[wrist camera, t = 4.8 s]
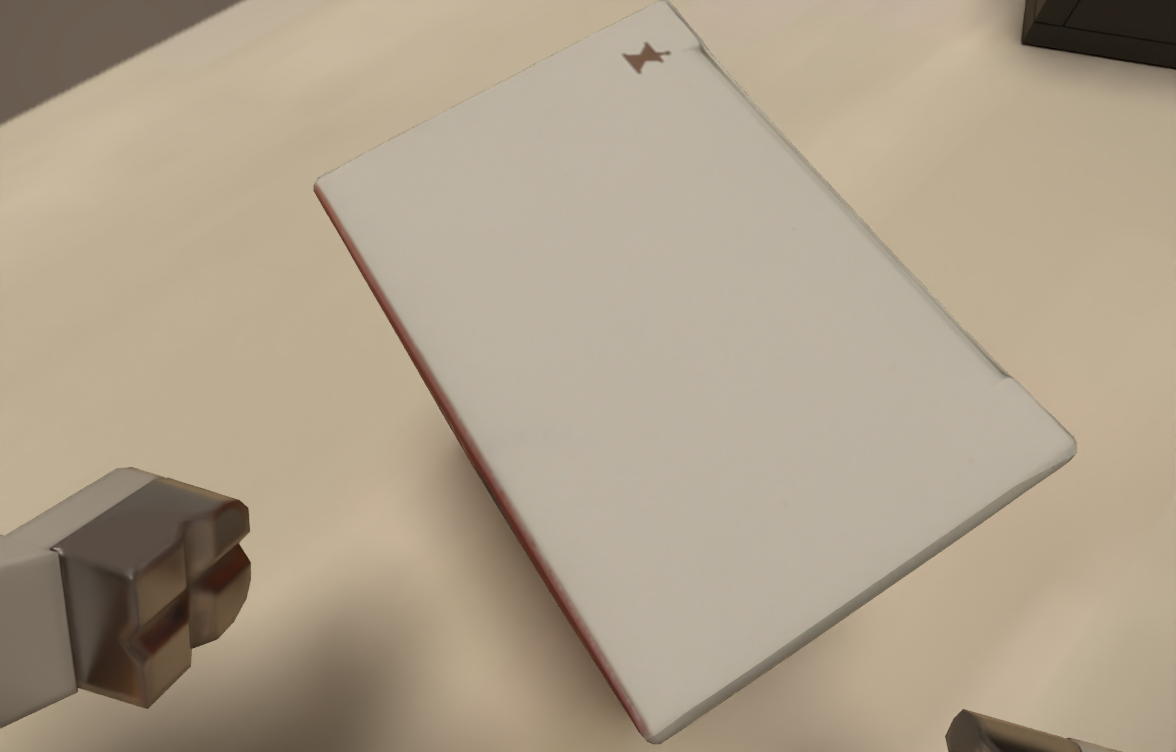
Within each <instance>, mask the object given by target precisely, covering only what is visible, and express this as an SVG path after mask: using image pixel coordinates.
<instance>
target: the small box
mask: <svg viewBox="0 0 1176 752" xmlns="http://www.w3.org/2000/svg"><path fill="white" fill-rule="evenodd" d="M314 192H315V194H316V196H317V198H318V199H319V201H320V203H321V204H322V206H323V208H324V210H325V211H326V213H327V215H328V216H329V218H330V220H331V221H332V223H333V225H334V227H335V228H336V230H337V232H338V233H339V235H340V237H341V238H342V240H343V242H344V244H345V245H346V247H347V249H348V251H349V252H350V254H351V256H352V258H353V260H354V261H355V263H356V265H357V267H358V268H359V270H360V272H361V274H362V275H363V277H364V279H365V280H366V282H367V284H368V286H369V287H370V289H371V291H372V293H373V294H374V296H375V298H376V299H377V301H378V303H379V305H380V306H381V308H382V310H383V311H384V313H385V315H386V317H387V318H388V320H389V322H390V324H391V325H392V327H393V329H394V330H395V332H396V334H397V336H398V337H399V339H400V341H401V343H402V344H403V346H404V348H405V349H406V351H407V353H408V355H409V356H410V358H411V360H412V362H413V363H414V365H415V367H416V369H417V370H418V372H419V374H420V376H421V377H422V379H423V381H424V382H425V384H426V386H427V388H428V389H429V391H430V393H431V395H432V396H433V398H434V400H435V402H436V403H437V405H438V407H439V409H440V410H441V412H442V414H443V416H444V417H445V419H446V421H447V422H448V424H449V426H450V428H451V429H452V431H453V433H454V434H455V436H456V438H457V440H458V441H459V443H460V445H461V446H462V448H463V450H464V452H465V453H466V455H467V457H468V458H469V460H470V462H471V464H472V465H473V467H474V469H475V470H476V472H477V474H478V475H479V477H480V478H481V480H482V482H483V483H484V485H485V487H486V488H487V490H488V492H489V493H490V495H491V497H492V498H493V500H494V501H495V503H496V505H497V506H498V508H499V510H500V511H501V513H502V515H503V516H504V518H505V519H506V521H507V523H508V524H509V526H510V528H511V529H512V531H513V532H514V534H515V536H516V537H517V539H518V541H519V542H520V544H521V545H522V547H523V549H524V550H525V552H526V553H527V555H528V557H529V558H530V560H531V562H532V563H533V565H534V566H535V568H536V570H537V571H538V573H539V574H540V576H541V578H542V579H543V581H544V583H545V584H546V586H547V587H548V589H549V591H550V592H551V594H552V595H553V597H554V599H555V600H556V602H557V604H558V605H559V607H560V608H561V610H562V612H563V613H564V615H565V616H566V618H567V620H568V621H569V623H570V624H571V626H572V628H573V629H574V631H575V632H576V634H577V635H578V637H579V638H580V640H581V642H582V643H583V645H584V646H585V648H586V649H587V651H588V653H589V654H590V656H591V657H592V659H593V660H594V662H595V663H596V665H597V667H598V668H599V670H600V671H601V673H602V674H603V676H604V678H605V679H606V681H607V682H608V684H609V685H610V687H611V688H612V690H613V692H614V693H615V695H616V696H617V698H618V699H619V701H620V702H621V704H622V706H623V707H624V709H625V710H626V712H627V713H628V715H629V717H630V718H631V720H632V721H633V723H634V725H635V726H636V728H637V730H638V731H639V733H640V734H641V735H642V736H643V737H644V739H645V740H646V741H647V742H650V743H652V744H661V743H662V742H664V741H665V740H667V739H668V738H670V737H671V736H673V735H675V734H676V733H678V732H679V731H681V730H682V729H684V728H685V727H687V726H688V725H689V724H691V723H692V722H694V721H695V720H697V719H698V718H700V717H701V716H703V715H704V714H706V713H707V712H709V711H710V710H711V709H713V708H714V707H716V706H717V705H719V704H720V703H722V702H723V701H725V700H726V699H728V698H729V697H731V696H732V695H733V694H735V693H736V692H738V691H739V690H741V689H742V688H744V687H745V686H747V685H748V684H750V683H751V682H753V681H754V680H755V679H757V678H758V677H760V676H761V675H763V674H764V673H766V672H767V671H769V670H770V669H772V668H773V667H775V666H776V665H777V664H779V663H780V662H782V661H783V660H785V659H786V658H788V657H789V656H791V655H792V654H793V653H795V652H796V651H798V650H799V649H801V648H802V647H804V646H805V645H807V644H808V643H809V642H811V641H812V640H814V639H815V638H817V637H818V636H820V635H821V634H822V633H824V632H825V631H827V630H828V629H830V628H831V627H833V626H834V625H835V624H837V623H838V622H840V621H841V620H843V619H844V618H846V617H847V616H849V615H850V614H851V613H853V612H854V611H856V610H857V609H859V608H860V607H862V606H863V605H864V604H866V603H867V602H869V601H870V600H872V599H873V598H875V597H876V596H878V595H879V594H880V593H882V592H883V591H885V590H886V589H888V588H889V587H890V586H892V585H893V584H895V583H896V582H898V581H899V580H901V579H902V578H903V577H905V576H906V575H908V574H909V573H911V572H912V571H914V570H915V569H916V568H918V567H919V566H921V565H922V564H924V563H925V562H927V561H928V560H929V559H931V558H932V557H934V556H935V555H937V554H938V553H940V552H941V551H942V550H944V549H945V548H947V547H948V546H950V545H951V544H953V543H954V542H955V541H957V540H958V539H960V538H961V537H963V536H964V535H965V534H967V533H968V532H970V531H971V530H973V529H974V528H976V527H977V526H978V525H980V524H981V523H983V522H984V521H985V520H987V519H988V518H990V517H991V516H992V515H994V514H995V513H997V512H998V511H999V510H1001V509H1002V508H1004V507H1005V506H1006V505H1008V504H1009V503H1011V502H1012V501H1013V500H1015V499H1016V498H1018V497H1019V496H1020V495H1022V494H1023V493H1025V492H1026V491H1028V490H1029V489H1030V488H1032V487H1033V486H1035V485H1036V484H1038V483H1039V482H1041V481H1042V480H1044V479H1045V478H1047V477H1048V476H1050V475H1051V474H1052V473H1054V472H1055V471H1057V470H1058V469H1060V468H1061V467H1062V466H1064V465H1065V464H1066V463H1068V462H1069V461H1070V460H1071V459H1072V458H1073V457H1074V455H1075V454H1076V453H1077V442H1076V440H1075V439H1074V437H1073V436H1072V435H1071V434H1070V433H1069V432H1068V431H1067V430H1066V429H1065V428H1064V427H1063V426H1062V425H1061V424H1060V423H1059V422H1058V421H1057V420H1056V419H1055V418H1054V417H1053V416H1052V415H1051V414H1050V413H1049V412H1048V411H1047V410H1045V409H1044V408H1043V407H1042V406H1041V405H1040V404H1039V403H1038V402H1037V401H1036V400H1035V399H1034V398H1033V396H1032V395H1031V394H1030V393H1029V392H1028V391H1027V390H1026V389H1025V388H1024V387H1023V386H1022V385H1021V384H1020V383H1018V382H1017V381H1016V380H1015V379H1014V378H1013V377H1012V376H1011V375H1010V374H1009V373H1008V372H1007V371H1006V370H1005V369H1004V368H1003V367H1002V366H1000V365H999V364H998V363H997V362H996V361H995V360H994V359H993V357H992V356H991V355H990V354H989V353H988V352H987V351H986V350H985V349H984V348H983V347H982V346H981V345H980V344H979V343H978V342H977V341H976V340H975V339H974V338H973V337H972V336H971V335H970V334H969V333H968V332H967V331H966V330H965V329H964V328H963V327H962V325H961V324H960V323H959V322H958V321H957V320H956V319H955V318H954V317H953V316H952V315H951V314H950V313H949V312H948V311H947V310H946V309H945V307H944V306H943V305H942V304H941V303H940V302H939V301H938V300H937V299H936V298H935V297H934V296H933V295H932V294H931V293H930V291H929V290H928V289H927V288H926V287H925V286H924V285H923V284H922V283H921V282H920V281H919V280H918V279H917V278H916V276H915V275H914V274H913V273H912V272H911V271H910V270H909V269H908V268H907V267H906V266H905V265H904V264H903V263H902V262H901V261H900V260H899V259H898V258H897V257H896V255H895V254H894V253H893V252H892V251H891V250H890V249H889V248H888V247H887V246H886V245H885V244H884V243H883V242H882V241H881V240H880V239H879V238H878V237H877V235H876V234H875V233H874V232H873V231H872V229H871V228H870V227H869V226H868V225H867V224H866V223H865V222H864V221H863V220H862V219H861V218H860V217H859V215H858V214H857V213H856V212H855V211H854V210H853V209H852V208H851V207H850V206H849V205H848V204H847V203H846V201H845V200H844V199H843V198H842V197H841V196H840V195H839V194H838V193H837V192H836V191H835V190H834V189H833V188H832V186H831V185H830V184H829V183H828V182H827V181H826V180H825V179H824V178H823V177H822V176H821V175H820V174H819V173H818V172H817V171H816V169H815V168H814V167H813V166H812V165H811V164H810V163H809V162H808V161H807V159H806V158H805V157H804V156H803V155H802V154H801V153H800V152H799V151H798V150H797V148H796V147H795V146H794V145H793V144H792V143H791V142H790V141H789V140H788V139H787V138H786V137H785V136H784V134H783V133H782V132H781V131H780V130H779V129H778V128H777V127H776V126H775V125H774V124H773V122H772V121H771V120H770V119H769V118H768V117H767V115H766V114H765V113H764V112H763V111H762V110H761V109H760V108H759V107H758V106H757V105H756V104H755V103H754V102H753V100H752V99H751V98H750V97H749V96H748V95H747V94H746V93H745V91H744V90H743V89H742V88H741V87H740V86H739V85H738V83H737V82H736V81H735V80H734V79H733V78H732V77H731V75H730V74H729V73H728V72H727V71H726V70H725V69H724V67H723V66H722V65H721V64H720V63H719V62H718V61H717V60H716V58H715V57H714V56H713V55H712V53H711V52H710V51H709V49H708V48H707V47H706V45H705V44H704V42H703V41H702V40H701V38H700V37H699V36H698V35H697V34H696V33H695V31H694V30H693V29H692V28H691V27H690V26H689V24H688V23H687V22H686V21H685V20H684V18H683V17H682V16H681V15H680V13H679V12H678V11H677V10H676V8H675V7H674V6H673V5H672V4H671V3H670V2H669V1H667V0H659V1H657V2H655V3H653V4H651V5H649V6H647V7H645V8H643V9H641V10H639V11H637V12H635V13H633V14H631V15H629V16H627V17H625V18H623V19H622V20H620V21H618V22H616V23H614V24H612V25H610V26H607V27H605V28H603V29H601V30H599V31H597V32H595V33H593V34H591V35H590V36H588V37H586V38H584V39H582V40H580V41H578V42H576V43H574V44H572V45H570V46H568V47H567V48H565V49H563V50H561V51H559V52H557V53H555V54H553V55H551V56H549V57H547V58H545V59H543V60H541V61H540V62H538V63H536V64H534V65H532V66H530V67H528V68H526V69H524V70H522V71H520V72H519V73H517V74H515V75H513V76H511V77H509V78H507V79H505V80H503V81H501V82H499V83H497V84H495V85H493V86H491V87H489V88H488V89H486V90H484V91H482V92H480V93H478V94H476V95H474V96H472V97H471V98H469V99H467V100H465V101H463V102H461V103H459V104H457V105H455V106H453V107H451V108H449V109H447V110H445V111H443V112H441V113H440V114H438V115H436V116H434V117H432V118H430V119H428V120H426V121H424V122H422V123H420V124H418V125H416V126H414V127H412V128H410V129H408V130H406V131H405V132H403V133H401V134H399V135H397V136H395V137H393V138H391V139H389V140H388V141H386V142H384V143H382V144H380V145H378V146H376V147H374V148H372V149H370V150H368V151H366V152H365V153H363V154H361V155H359V156H358V157H356V158H354V159H353V160H351V161H349V162H347V163H346V164H344V165H342V166H341V167H338V168H336V169H334V170H332V171H330V172H327V173H325V174H323V175H322V176H320V177H319V178H318V179H317V180H316V182H315V184H314Z"/></svg>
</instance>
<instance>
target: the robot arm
mask: <svg viewBox="0 0 1176 752" xmlns="http://www.w3.org/2000/svg"><path fill="white" fill-rule="evenodd" d="M249 532H250V525H249V511H248V507H247V506H245V505H244V504H243V503H242V502H241V501H240V500H237V499H234V498H231V497H228V496H225V495H222V494H218V493H215V492H212V491H209V490H206V489H202V488H199V487H196V486H193V485H190V484H187V483H183V482H180V481H177V480H174V479H171V478H164V477H162V476H159V475H156V474H153V473H149V472H146V471H143V470H140V469H137V468H133V467H128V468H117V469H115V470H113V471H112V472H110V473H108V474H107V475H105V476H103V477H102V478H100V479H98V480H97V481H95V482H93V483H92V484H90V485H88V486H87V487H85V488H83V489H82V490H80V491H78V492H77V493H75V494H73V495H72V496H70V497H68V498H67V499H65V500H63V501H62V502H60V503H58V504H57V505H55V506H53V507H52V508H50V509H48V510H47V511H45V512H43V513H42V514H40V515H39V516H37V517H35V518H34V519H32V520H30V521H29V522H27V523H25V524H24V525H22V526H20V527H19V528H17V529H15V530H14V531H12V532H10V533H9V534H7V535H5V536H3V535H0V728H2V727H5V726H7V725H9V724H11V723H13V722H15V721H17V720H19V719H22V718H24V717H26V716H28V715H30V714H32V713H34V712H37V711H39V710H41V709H43V708H45V707H47V706H49V705H51V704H54V703H56V702H58V701H60V700H62V699H64V698H66V697H69V696H71V695H73V694H75V693H77V692H78V688H80V689H84V690H87V691H90V692H93V693H97V694H100V695H103V696H107V697H110V698H113V699H116V700H120V701H123V702H126V703H129V704H133V705H136V706H139V707H143V708H146V709H149V708H150V707H151V706H152V705H153V704H154V703H155V702H156V701H157V700H158V699H159V698H160V697H161V696H162V695H163V694H164V693H165V692H166V691H167V690H168V689H169V688H170V687H171V686H172V685H173V684H174V683H175V682H176V681H177V680H178V679H179V678H180V677H181V676H182V675H183V674H184V673H185V672H186V671H187V670H188V669H189V668H190V667H191V656H192V649H193V648H196V647H198V646H201V645H204V644H206V643H209V642H212V641H214V640H217V639H218V638H219V637H220V636H221V635H222V634H223V633H224V632H225V631H226V630H227V629H228V628H229V627H230V625H231V624H232V623H233V622H234V621H235V619H236V617H237V615H238V613H239V612H240V610H241V608H242V606H243V604H244V602H245V600H246V598H247V594H248V590H249V585H250V581H251V562H250V561H249V559H248V557H247V556H246V554H245V553H244V551H243V549H242V548H241V546H240V545H239V543H240V542H241V541H242V539H243V538H244V537H245V536H246V535H247V534H248V533H249ZM945 738H946V743H947V747H948V752H1121V751H1118V750H1114V749H1110V748H1106V747H1102V746H1099V745H1095V744H1091V743H1087V742H1084V741H1080V740H1076V739H1072V738H1063V737H1060V736H1057V735H1053V734H1050V733H1046V732H1043V731H1039V730H1035V729H1032V728H1028V727H1025V726H1021V725H1018V724H1014V723H1011V722H1007V721H1004V720H1000V719H997V718H993V717H989V716H986V715H982V714H979V713H975V712H972V711H968V710H965V709H963V710H962V711H961V712H960V713H959V714H958V715H957V716H956V717H955V718H954V719H953V721H952V723H951V725H950V727H949V729H948V731H947V734H946V736H945Z"/></svg>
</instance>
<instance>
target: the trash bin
mask: <svg viewBox="0 0 1176 752" xmlns="http://www.w3.org/2000/svg"><path fill="white" fill-rule="evenodd" d="M1022 42H1023V43H1026V44H1032V45H1038V46H1045V47H1051V48H1057V49H1063V50H1069V51H1076V52H1082V53H1088V54H1094V55H1100V56H1107V57H1113V58H1119V59H1125V60H1131V61H1137V62H1144V63H1150V64H1156V65H1162V66H1168V67H1175V68H1176V0H1027V3H1026V12H1025V21H1024V30H1023V39H1022Z"/></svg>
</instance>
